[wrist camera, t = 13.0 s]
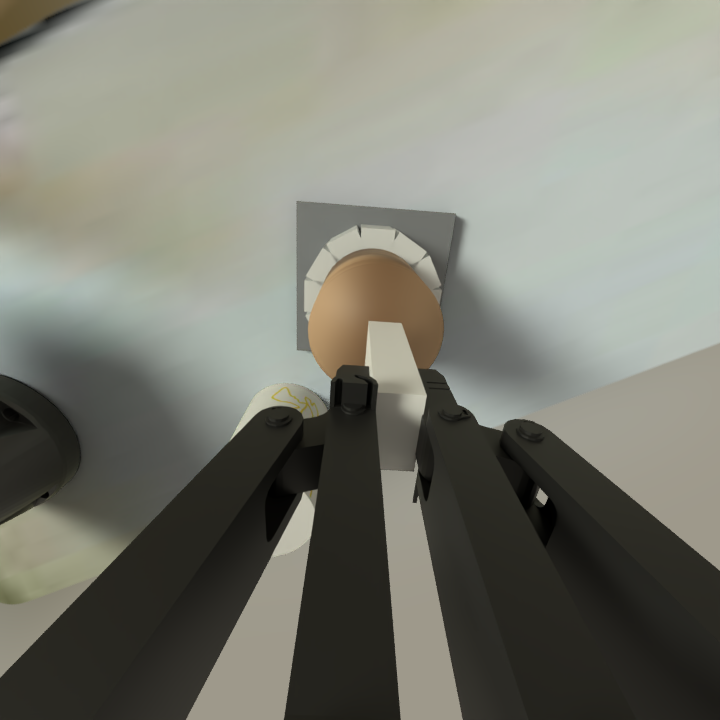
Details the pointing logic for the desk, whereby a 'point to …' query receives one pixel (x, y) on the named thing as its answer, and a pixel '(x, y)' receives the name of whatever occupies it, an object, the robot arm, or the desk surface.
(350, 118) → the desk surface
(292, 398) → the cup
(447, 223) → the socket
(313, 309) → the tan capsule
